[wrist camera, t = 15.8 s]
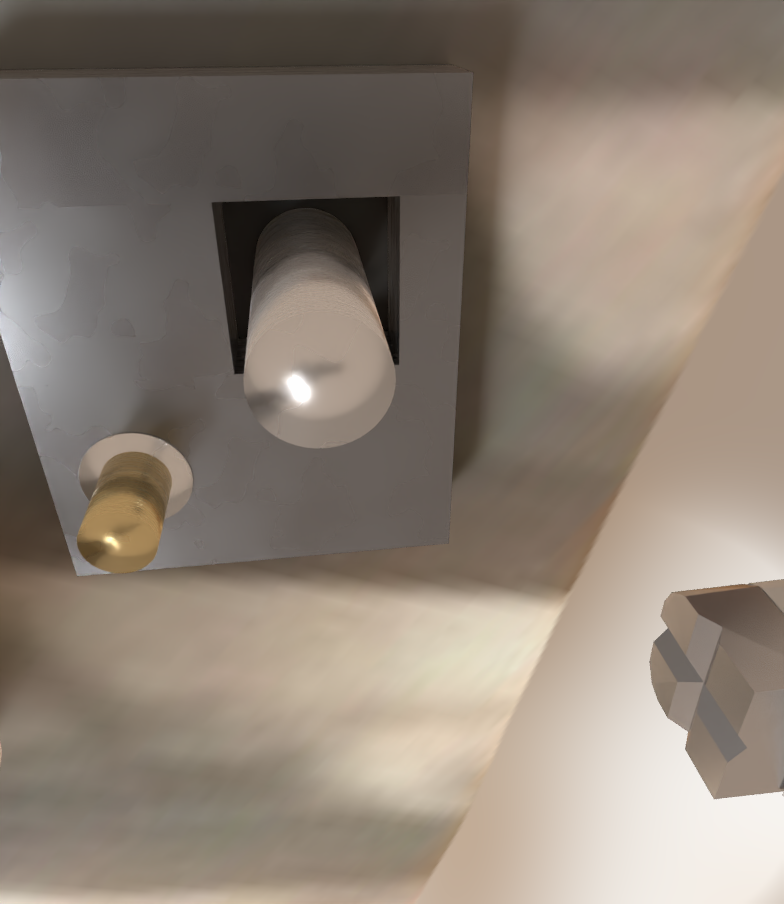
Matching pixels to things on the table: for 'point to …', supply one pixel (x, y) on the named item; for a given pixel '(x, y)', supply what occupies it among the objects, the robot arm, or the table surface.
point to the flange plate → (221, 303)
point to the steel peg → (314, 335)
